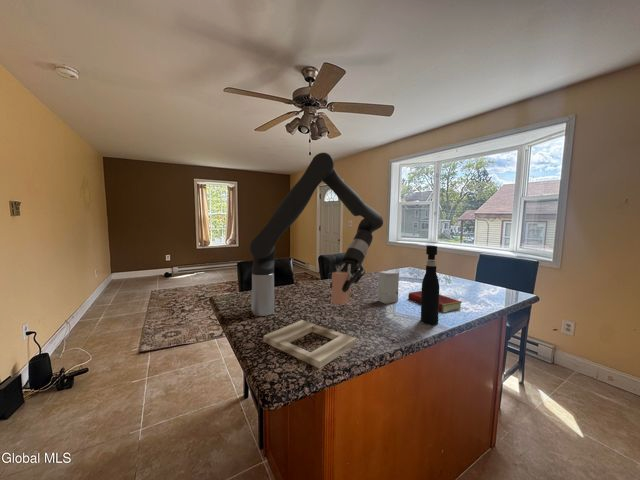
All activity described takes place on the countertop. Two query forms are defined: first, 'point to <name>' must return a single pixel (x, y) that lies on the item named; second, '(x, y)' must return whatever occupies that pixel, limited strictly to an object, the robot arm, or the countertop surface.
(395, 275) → the skincare box
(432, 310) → the wine bottle
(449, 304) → the hardcover book
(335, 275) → the tall salmon pink block
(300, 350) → the beige lopsided picture frame
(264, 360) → the countertop surface
